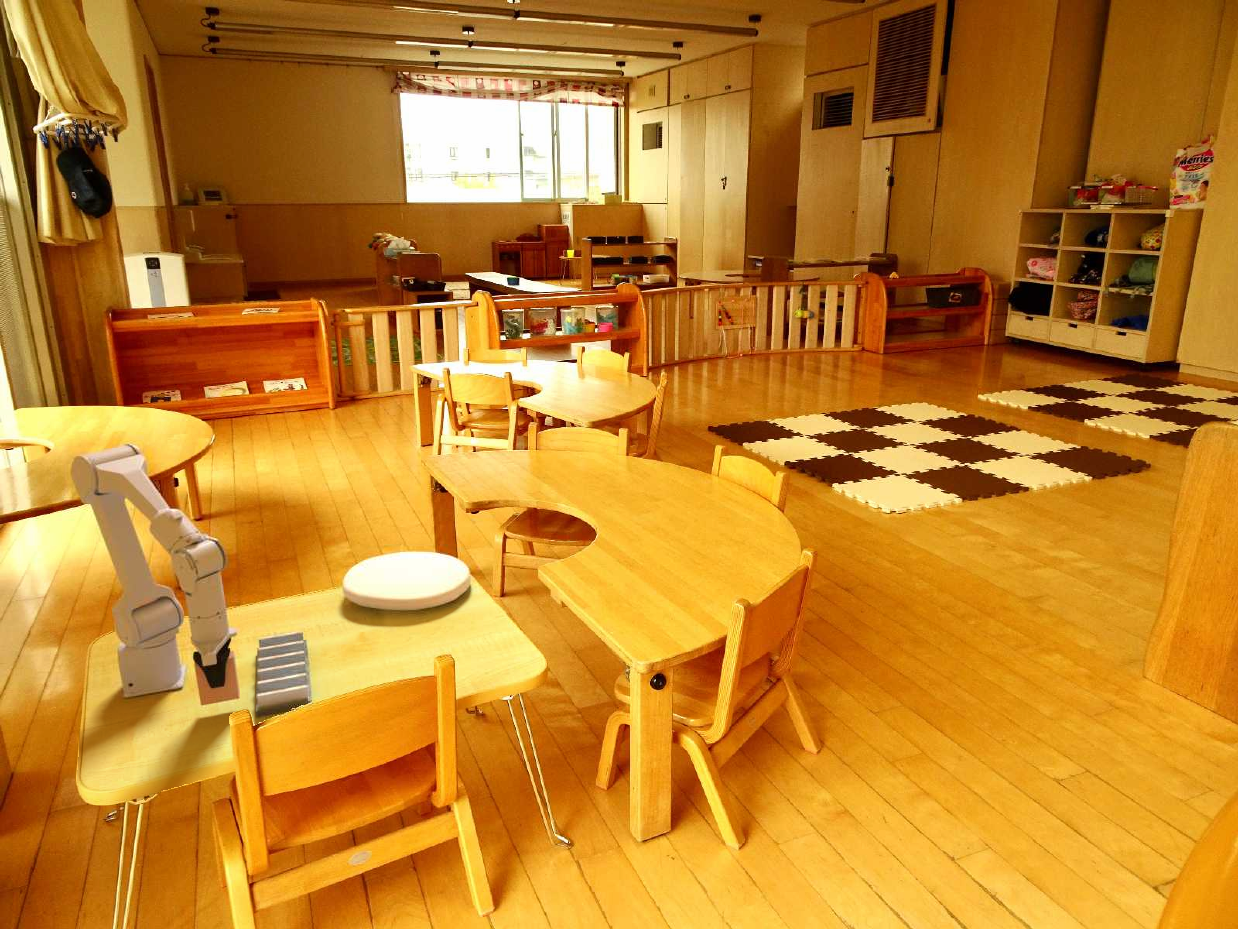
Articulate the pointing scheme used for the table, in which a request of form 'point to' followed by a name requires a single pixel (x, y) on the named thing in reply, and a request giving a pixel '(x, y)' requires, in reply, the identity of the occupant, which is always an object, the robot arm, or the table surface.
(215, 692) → the tile
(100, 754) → the table surface
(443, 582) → the white round disc
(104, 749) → the table surface
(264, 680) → the rack
